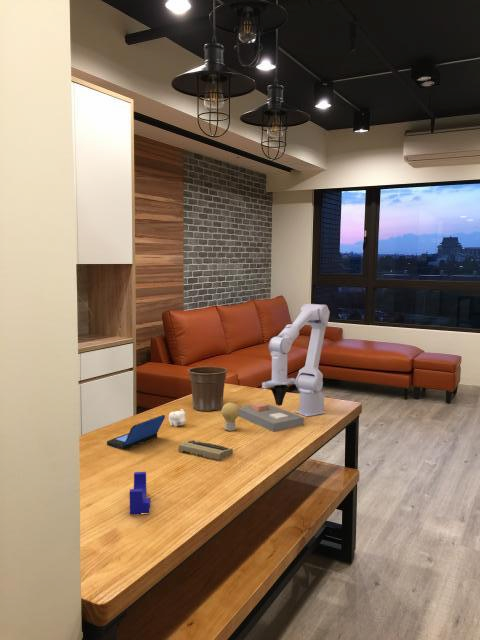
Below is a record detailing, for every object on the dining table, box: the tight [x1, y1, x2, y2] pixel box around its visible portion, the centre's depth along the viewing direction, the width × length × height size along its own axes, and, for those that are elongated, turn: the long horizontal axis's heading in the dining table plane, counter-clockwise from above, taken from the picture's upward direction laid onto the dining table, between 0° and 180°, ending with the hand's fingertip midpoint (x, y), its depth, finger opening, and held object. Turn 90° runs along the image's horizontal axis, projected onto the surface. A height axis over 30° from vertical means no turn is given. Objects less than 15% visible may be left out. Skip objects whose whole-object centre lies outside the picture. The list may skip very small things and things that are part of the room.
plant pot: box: [187, 365, 228, 412], centre depth 221 cm, size 16×16×16 cm
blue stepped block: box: [129, 471, 152, 516], centre depth 134 cm, size 12×4×6 cm, turn 5°
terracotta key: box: [250, 401, 270, 412], centre depth 209 cm, size 5×5×3 cm
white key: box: [269, 413, 288, 419], centre depth 200 cm, size 5×5×3 cm
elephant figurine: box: [168, 408, 187, 428], centre depth 197 cm, size 7×8×6 cm
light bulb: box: [221, 402, 240, 432], centre depth 192 cm, size 6×6×10 cm
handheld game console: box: [106, 414, 165, 451], centre depth 179 cm, size 16×13×9 cm
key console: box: [238, 402, 305, 433], centre depth 205 cm, size 14×24×3 cm, turn 34°
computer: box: [178, 439, 234, 462], centre depth 170 cm, size 16×8×3 cm, turn 60°
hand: (278, 404), depth 199 cm, fingers closed
